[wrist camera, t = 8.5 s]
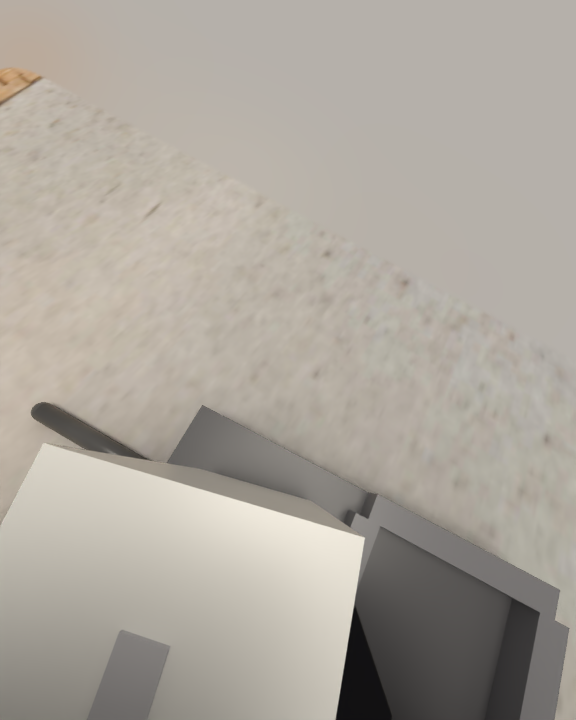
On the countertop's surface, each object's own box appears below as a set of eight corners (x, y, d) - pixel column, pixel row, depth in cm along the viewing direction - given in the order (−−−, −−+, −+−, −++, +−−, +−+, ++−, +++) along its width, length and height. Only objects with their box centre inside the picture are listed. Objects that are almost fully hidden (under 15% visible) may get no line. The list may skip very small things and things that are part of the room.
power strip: (453, 779, 13) (524, 904, 9) (-13, 478, 16) (-100, 477, 13) (503, 569, 15) (574, 597, 12) (89, 349, 19) (41, 316, 15)
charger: (280, 640, 11) (261, 1181, 2) (156, 599, 11) (-228, 947, 3) (311, 500, 12) (365, 538, 4) (201, 468, 13) (40, 442, 4)
